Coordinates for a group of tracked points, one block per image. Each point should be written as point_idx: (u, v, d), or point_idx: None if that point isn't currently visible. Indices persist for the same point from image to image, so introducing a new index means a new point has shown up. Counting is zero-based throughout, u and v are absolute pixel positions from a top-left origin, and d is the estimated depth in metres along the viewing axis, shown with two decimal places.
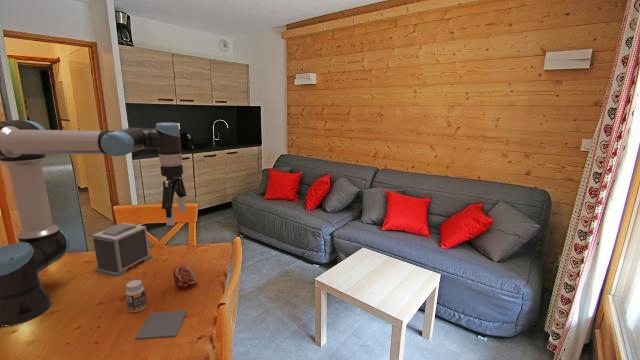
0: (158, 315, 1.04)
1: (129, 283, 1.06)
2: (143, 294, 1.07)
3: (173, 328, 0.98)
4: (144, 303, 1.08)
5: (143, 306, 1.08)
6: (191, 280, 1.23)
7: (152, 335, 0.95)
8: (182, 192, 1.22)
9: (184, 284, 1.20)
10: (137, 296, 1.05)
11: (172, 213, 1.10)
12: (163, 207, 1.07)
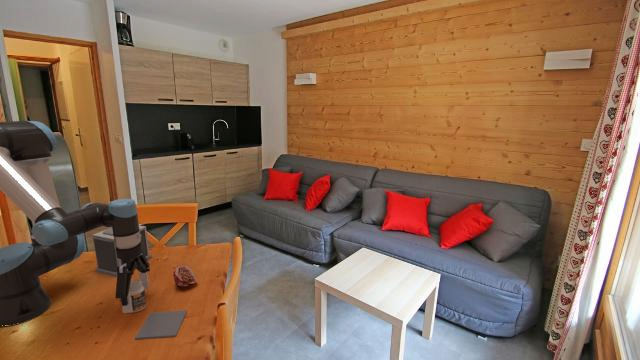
0: (158, 315, 1.04)
1: None
2: (143, 294, 1.07)
3: (173, 328, 0.98)
4: (144, 303, 1.08)
5: (143, 306, 1.08)
6: (191, 280, 1.23)
7: (152, 335, 0.95)
8: (144, 268, 1.11)
9: (184, 284, 1.20)
10: (137, 296, 1.05)
11: (129, 300, 1.00)
12: (117, 297, 0.96)
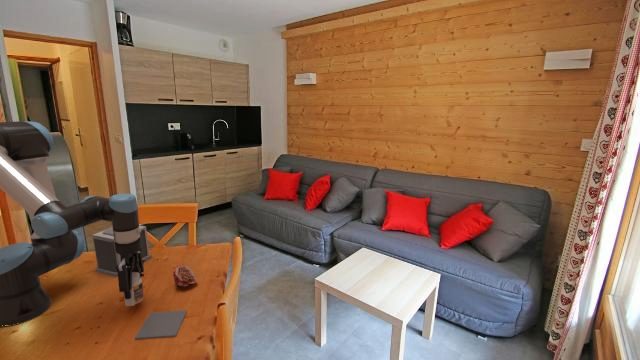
0: (158, 315, 1.04)
1: None
2: (141, 286, 1.07)
3: (173, 328, 0.98)
4: (141, 295, 1.08)
5: (140, 298, 1.07)
6: (191, 280, 1.23)
7: (152, 335, 0.95)
8: (139, 271, 1.09)
9: (184, 284, 1.20)
10: (134, 288, 1.05)
11: (132, 294, 1.04)
12: (121, 290, 1.00)
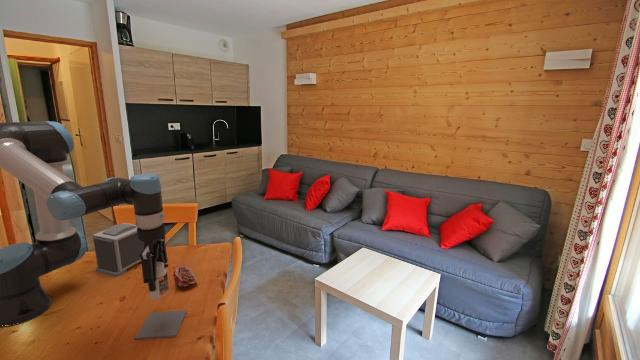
0: (158, 315, 1.04)
1: None
2: (166, 277, 0.96)
3: (173, 328, 0.98)
4: (167, 288, 0.97)
5: (166, 291, 0.97)
6: (191, 280, 1.23)
7: (152, 335, 0.95)
8: (163, 261, 0.99)
9: (184, 284, 1.20)
10: (159, 279, 0.94)
11: (156, 285, 0.93)
12: (145, 281, 0.90)
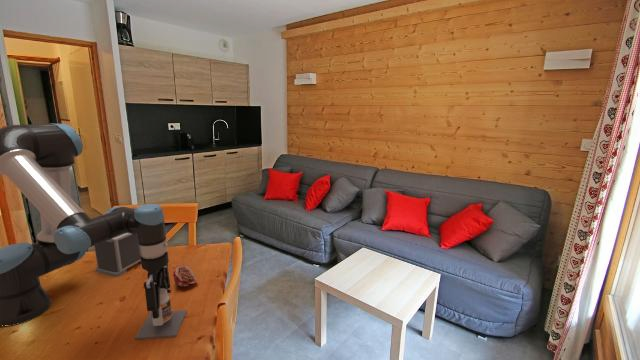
0: None
1: None
2: (169, 304, 0.99)
3: (173, 328, 0.98)
4: (170, 313, 0.99)
5: (169, 317, 0.99)
6: (191, 280, 1.23)
7: (152, 335, 0.95)
8: (166, 287, 1.01)
9: (184, 284, 1.20)
10: (163, 306, 0.97)
11: (160, 312, 0.96)
12: (149, 310, 0.92)
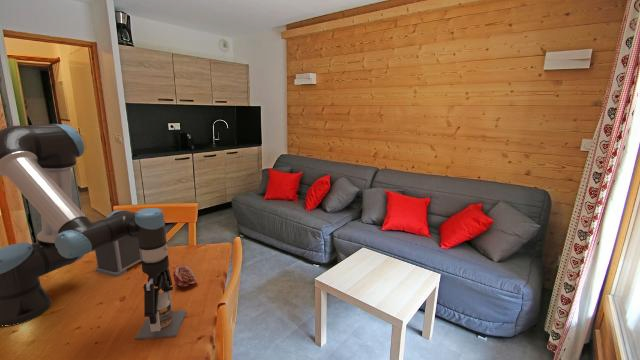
0: None
1: None
2: (169, 308, 0.99)
3: (173, 328, 0.98)
4: (170, 318, 1.00)
5: (169, 321, 0.99)
6: (191, 280, 1.23)
7: (152, 335, 0.95)
8: (168, 286, 1.03)
9: (184, 284, 1.20)
10: (163, 310, 0.97)
11: (157, 318, 0.94)
12: (146, 315, 0.90)
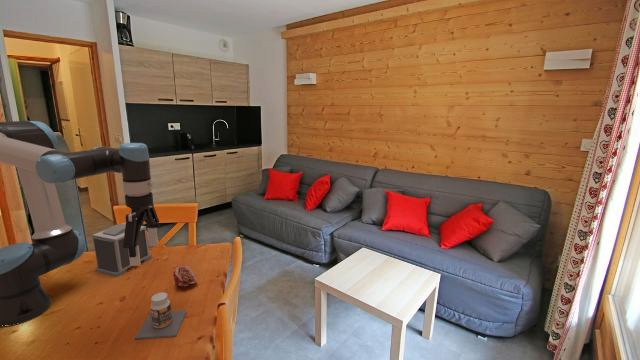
0: None
1: (154, 296, 0.98)
2: (169, 308, 0.99)
3: (173, 328, 0.98)
4: (170, 318, 1.00)
5: (169, 321, 0.99)
6: (191, 280, 1.23)
7: (152, 335, 0.95)
8: (153, 223, 1.04)
9: (184, 284, 1.20)
10: (163, 310, 0.97)
11: (137, 252, 0.92)
12: (125, 246, 0.89)
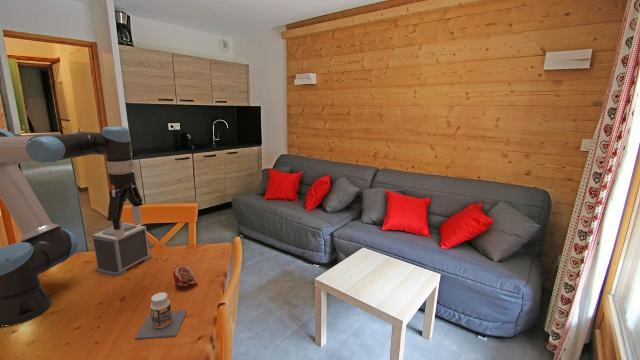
0: None
1: (154, 296, 0.98)
2: (169, 308, 0.99)
3: (173, 328, 0.98)
4: (170, 318, 1.00)
5: (169, 321, 0.99)
6: (191, 280, 1.23)
7: (152, 335, 0.95)
8: (137, 201, 1.13)
9: (184, 284, 1.20)
10: (163, 310, 0.97)
11: (121, 225, 1.02)
12: (109, 219, 0.98)
